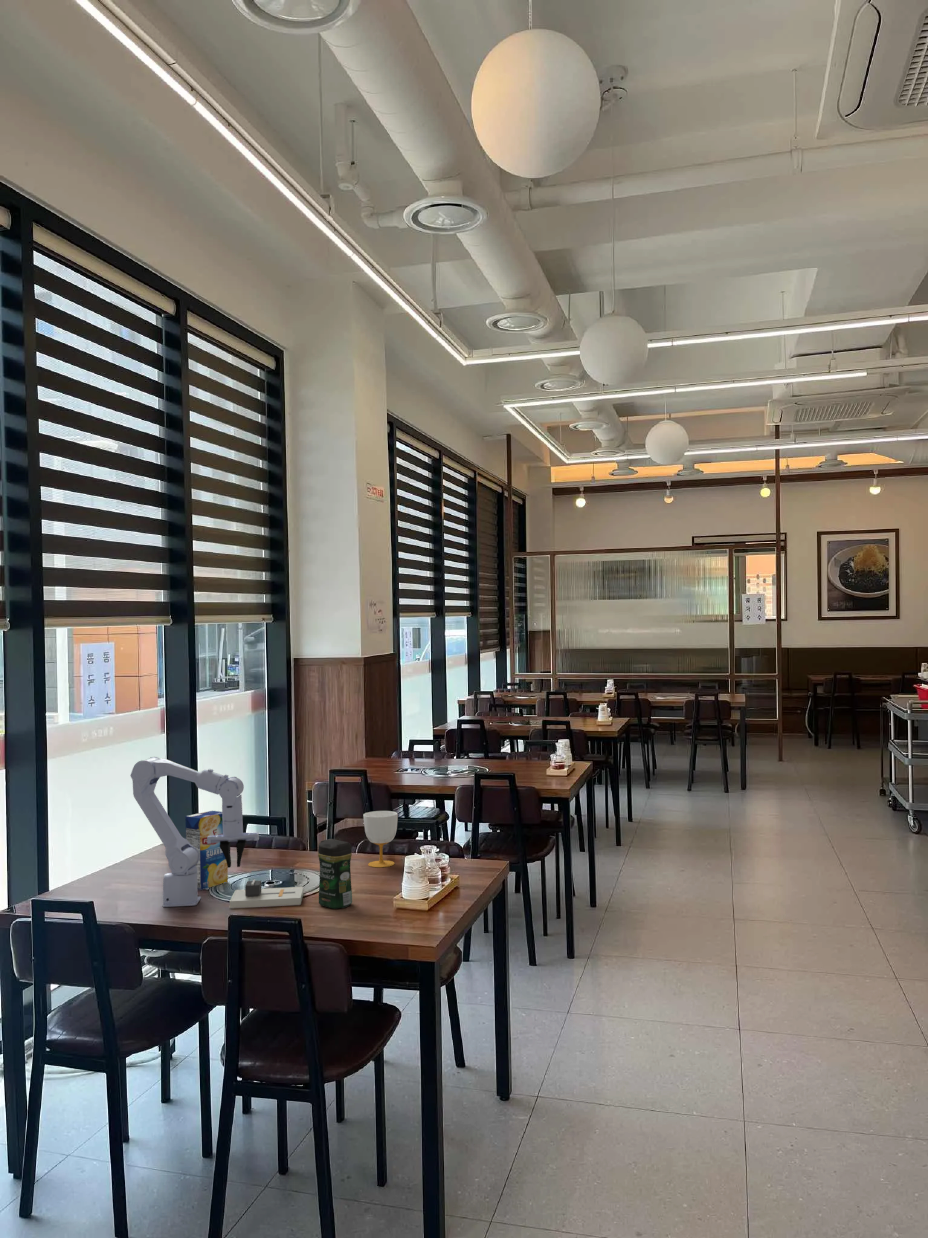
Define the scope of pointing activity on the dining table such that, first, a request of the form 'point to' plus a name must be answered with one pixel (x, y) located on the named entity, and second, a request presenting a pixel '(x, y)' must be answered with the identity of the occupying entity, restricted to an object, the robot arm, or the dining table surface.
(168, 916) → the dining table surface
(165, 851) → the robot arm
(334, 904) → the coffee jar
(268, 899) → the control panel
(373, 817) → the cup
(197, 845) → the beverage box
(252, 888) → the block
